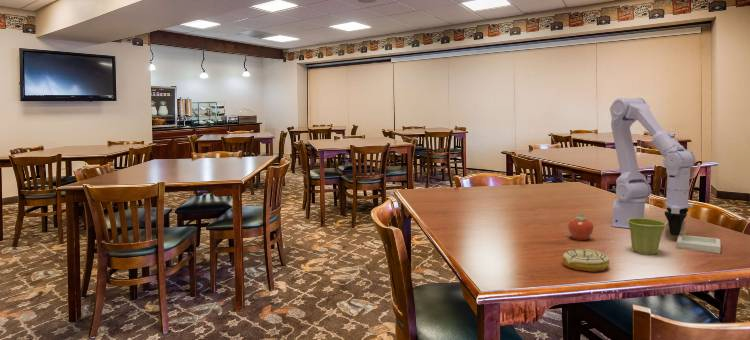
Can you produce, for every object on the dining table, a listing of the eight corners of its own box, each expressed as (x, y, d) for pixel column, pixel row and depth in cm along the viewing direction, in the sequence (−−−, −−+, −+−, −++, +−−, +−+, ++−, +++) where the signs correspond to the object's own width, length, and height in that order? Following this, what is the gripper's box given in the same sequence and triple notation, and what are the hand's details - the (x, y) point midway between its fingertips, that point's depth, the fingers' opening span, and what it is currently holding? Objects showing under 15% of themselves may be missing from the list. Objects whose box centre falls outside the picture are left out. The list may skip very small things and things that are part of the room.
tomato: (570, 234, 147) (570, 210, 146) (595, 237, 143) (596, 212, 142) (564, 239, 141) (565, 214, 140) (590, 243, 137) (591, 217, 136)
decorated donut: (561, 259, 123) (561, 245, 122) (605, 262, 119) (605, 248, 119) (564, 271, 113) (564, 256, 113) (612, 275, 110) (612, 260, 109)
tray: (676, 247, 130) (676, 241, 130) (678, 240, 138) (678, 234, 138) (720, 253, 125) (720, 247, 124) (719, 244, 133) (719, 238, 132)
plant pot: (659, 248, 130) (661, 218, 129) (668, 258, 121) (670, 226, 120) (623, 246, 133) (624, 217, 132) (629, 255, 124) (630, 224, 123)
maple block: (664, 238, 141) (665, 222, 140) (666, 235, 145) (666, 219, 144) (684, 240, 138) (685, 224, 137) (685, 237, 142) (685, 221, 141)
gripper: (692, 193, 131) (690, 239, 133) (694, 187, 143) (691, 229, 144) (664, 191, 136) (661, 236, 137) (667, 186, 147) (665, 227, 149)
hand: (675, 232), depth 141 cm, fingers open, 7 cm apart
